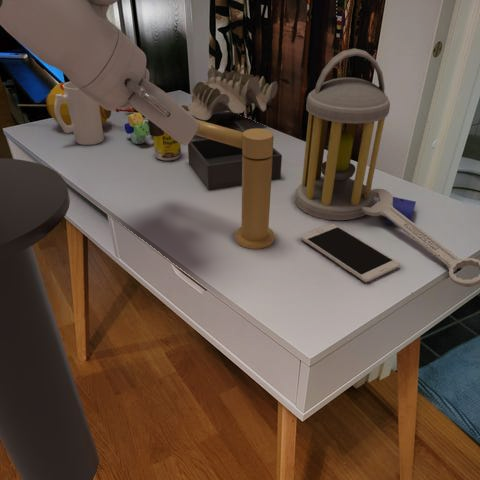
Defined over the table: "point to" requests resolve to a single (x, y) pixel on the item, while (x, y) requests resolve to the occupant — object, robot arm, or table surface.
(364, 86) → the lantern
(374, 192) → the wrench
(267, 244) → the faucet column
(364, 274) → the smartphone
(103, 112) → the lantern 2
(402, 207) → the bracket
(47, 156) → the table surface
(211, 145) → the tray
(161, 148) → the supplement bottle
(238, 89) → the seashell
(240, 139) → the spout
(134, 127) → the dice
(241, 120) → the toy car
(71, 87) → the mug
